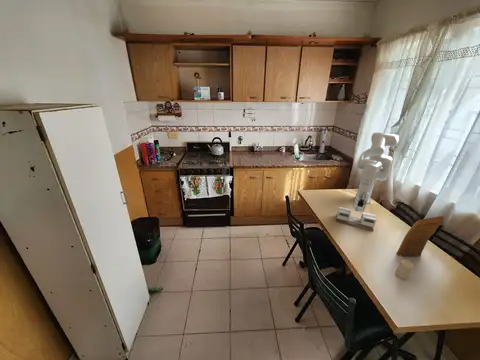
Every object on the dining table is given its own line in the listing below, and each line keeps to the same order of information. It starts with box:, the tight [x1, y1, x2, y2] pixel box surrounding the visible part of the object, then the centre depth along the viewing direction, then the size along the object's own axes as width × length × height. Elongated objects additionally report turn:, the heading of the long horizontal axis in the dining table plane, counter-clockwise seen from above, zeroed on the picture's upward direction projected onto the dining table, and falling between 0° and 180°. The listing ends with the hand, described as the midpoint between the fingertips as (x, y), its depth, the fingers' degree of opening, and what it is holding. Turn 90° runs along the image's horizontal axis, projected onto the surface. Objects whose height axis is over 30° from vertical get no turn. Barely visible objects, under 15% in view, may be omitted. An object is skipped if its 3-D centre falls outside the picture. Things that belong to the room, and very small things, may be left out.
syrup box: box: [351, 189, 369, 213], centre depth 147 cm, size 6×6×14 cm
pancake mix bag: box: [395, 215, 444, 258], centre depth 120 cm, size 7×19×28 cm, turn 95°
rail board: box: [335, 206, 377, 232], centre depth 153 cm, size 10×24×8 cm, turn 65°
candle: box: [395, 259, 415, 281], centre depth 109 cm, size 6×6×10 cm
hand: (359, 203), depth 148 cm, fingers closed on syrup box, 7 cm apart
